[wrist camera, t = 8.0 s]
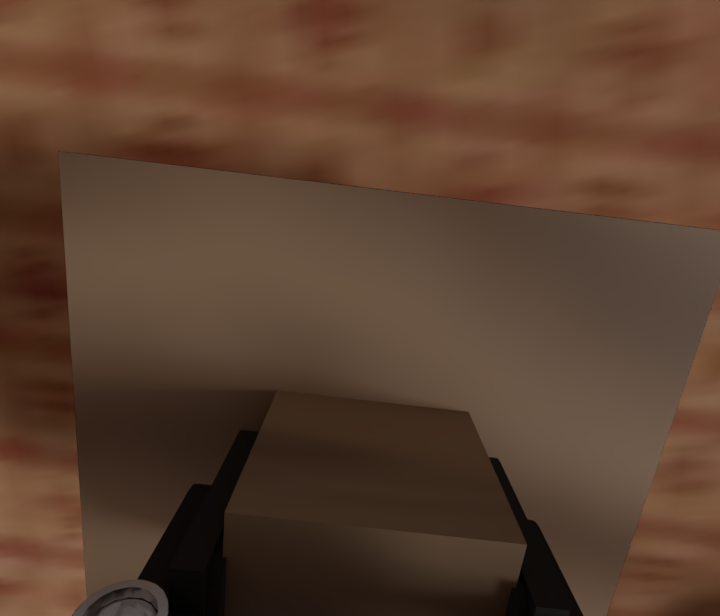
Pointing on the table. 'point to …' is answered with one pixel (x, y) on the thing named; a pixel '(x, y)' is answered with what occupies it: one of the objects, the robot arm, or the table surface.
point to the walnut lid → (370, 382)
